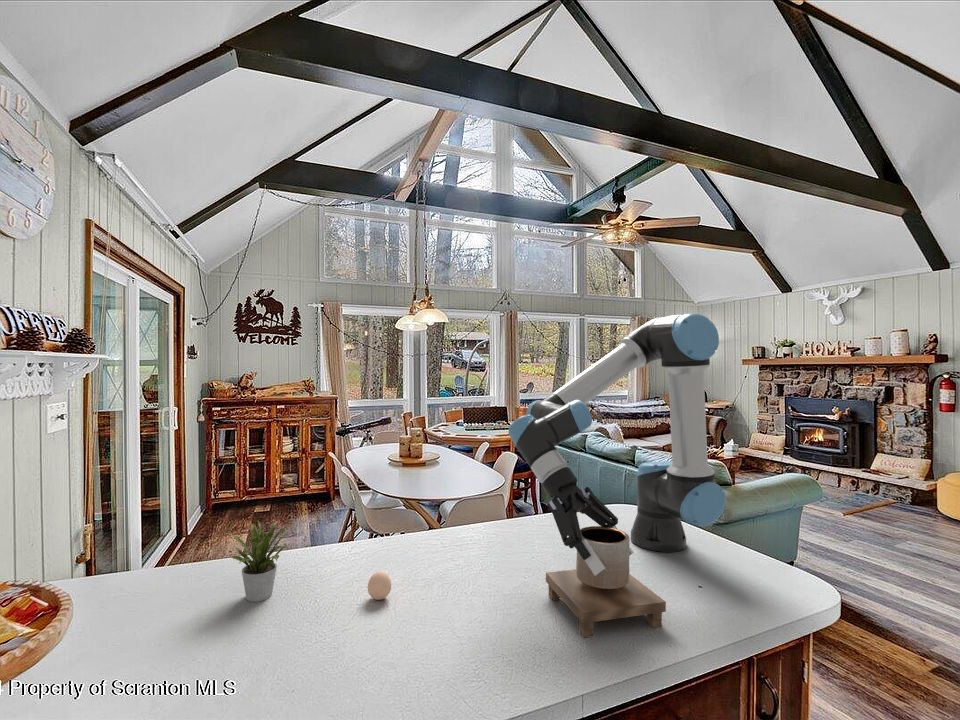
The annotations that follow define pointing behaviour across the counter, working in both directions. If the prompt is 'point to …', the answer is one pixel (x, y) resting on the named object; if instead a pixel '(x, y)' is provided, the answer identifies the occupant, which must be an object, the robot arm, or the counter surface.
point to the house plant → (259, 563)
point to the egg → (379, 585)
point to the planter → (605, 558)
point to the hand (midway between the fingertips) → (615, 563)
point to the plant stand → (604, 600)
